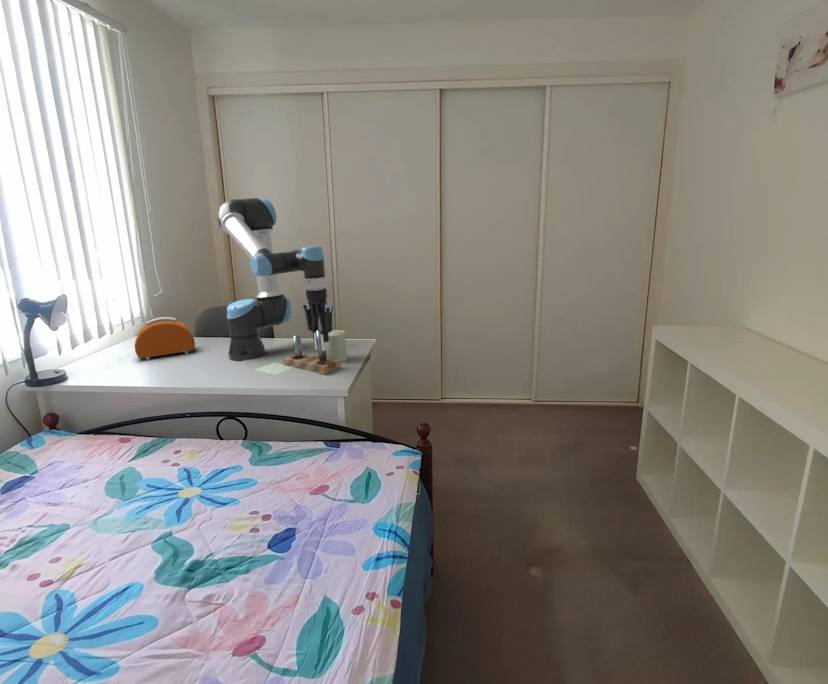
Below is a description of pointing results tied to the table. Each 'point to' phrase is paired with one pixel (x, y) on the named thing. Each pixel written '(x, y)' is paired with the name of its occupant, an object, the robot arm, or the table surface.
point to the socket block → (312, 364)
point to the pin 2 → (320, 346)
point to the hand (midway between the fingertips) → (322, 349)
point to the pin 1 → (297, 347)
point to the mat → (274, 368)
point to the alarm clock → (163, 338)
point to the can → (336, 345)
